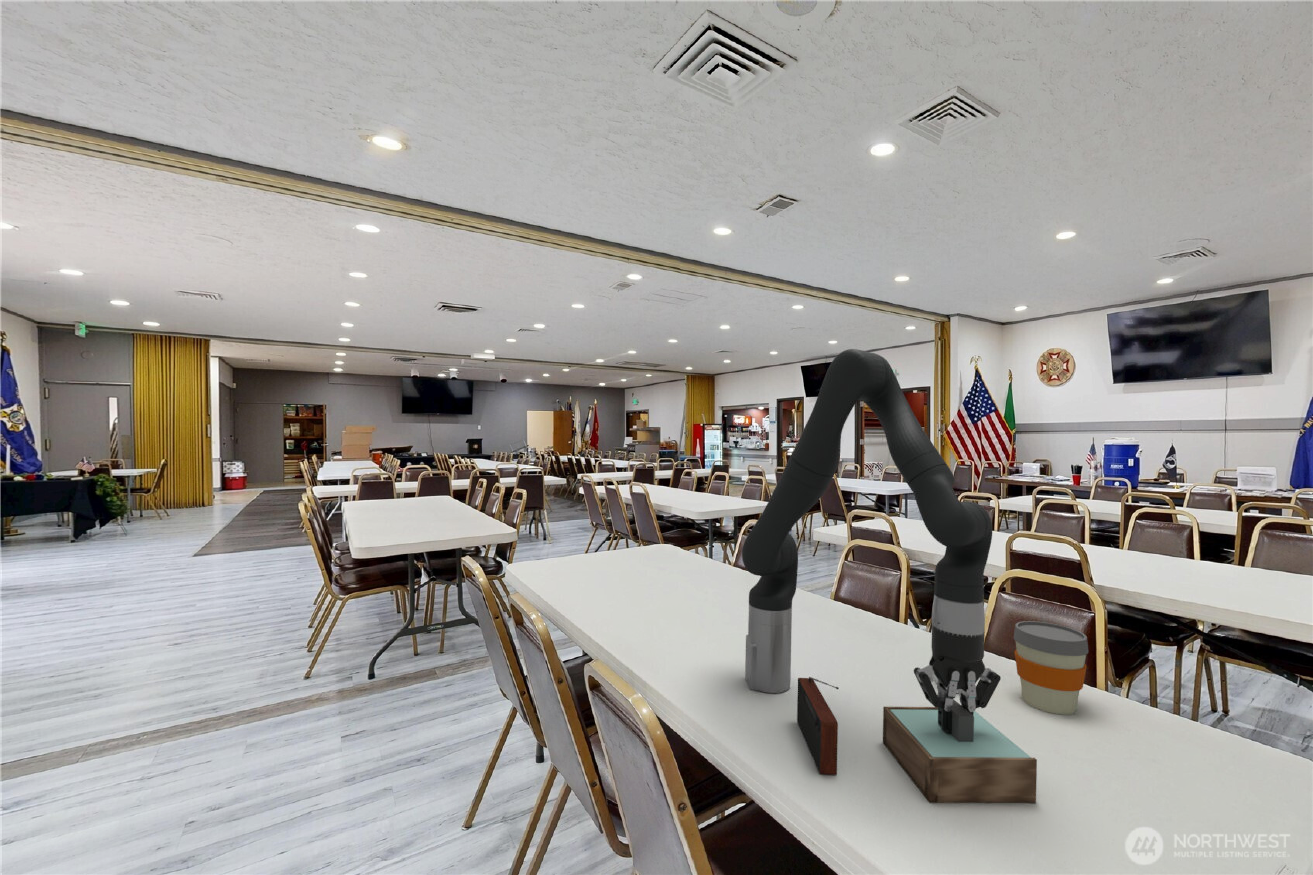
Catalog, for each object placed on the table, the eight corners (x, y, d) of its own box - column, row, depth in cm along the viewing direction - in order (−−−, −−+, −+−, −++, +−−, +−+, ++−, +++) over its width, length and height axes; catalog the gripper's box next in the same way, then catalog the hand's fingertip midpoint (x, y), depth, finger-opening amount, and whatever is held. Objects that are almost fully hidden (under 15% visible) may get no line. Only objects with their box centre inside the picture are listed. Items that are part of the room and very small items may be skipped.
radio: (794, 722, 105) (796, 642, 105) (811, 722, 105) (812, 643, 105) (820, 783, 86) (822, 686, 86) (840, 784, 86) (842, 687, 86)
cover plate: (932, 763, 83) (933, 730, 83) (889, 715, 97) (890, 686, 97) (1031, 764, 83) (1032, 730, 83) (974, 715, 98) (974, 687, 98)
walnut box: (929, 802, 82) (930, 759, 82) (882, 742, 98) (883, 706, 98) (1036, 802, 82) (1036, 759, 82) (972, 743, 98) (972, 707, 98)
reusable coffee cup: (1066, 724, 106) (1067, 645, 106) (999, 696, 117) (1000, 625, 117) (1100, 710, 111) (1101, 636, 111) (1033, 685, 122) (1034, 617, 122)
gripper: (927, 632, 86) (924, 744, 86) (1015, 633, 87) (1012, 744, 87) (904, 617, 94) (902, 719, 94) (985, 618, 94) (983, 720, 94)
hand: (955, 731), depth 90 cm, fingers closed on cover plate, 2 cm apart
